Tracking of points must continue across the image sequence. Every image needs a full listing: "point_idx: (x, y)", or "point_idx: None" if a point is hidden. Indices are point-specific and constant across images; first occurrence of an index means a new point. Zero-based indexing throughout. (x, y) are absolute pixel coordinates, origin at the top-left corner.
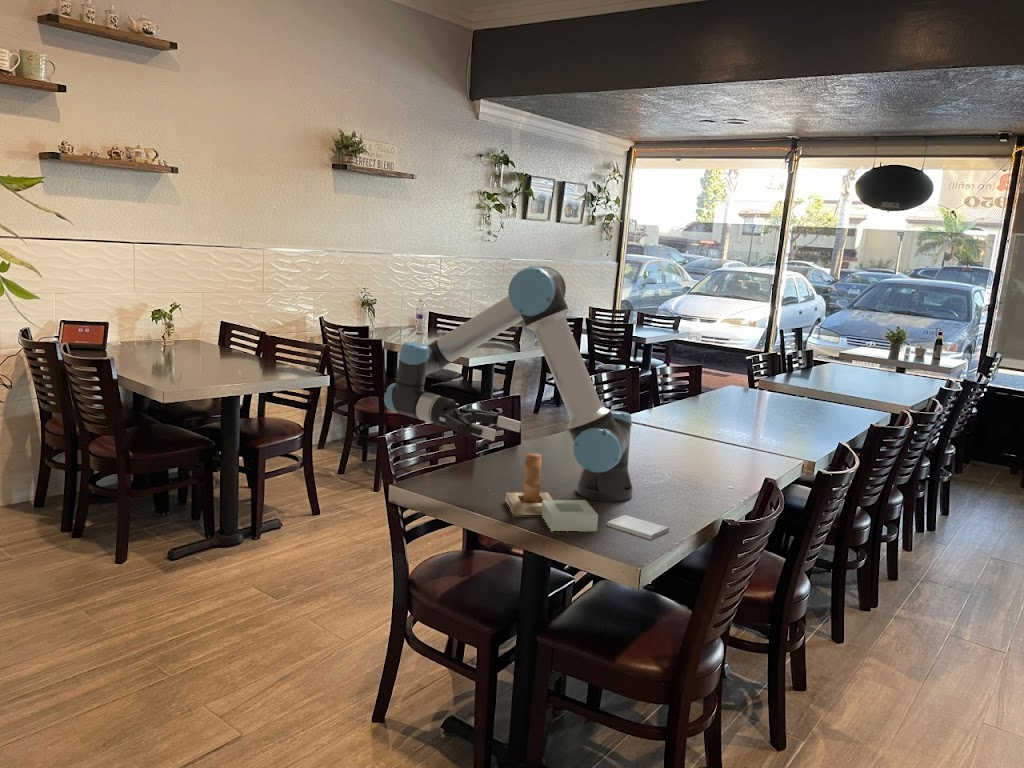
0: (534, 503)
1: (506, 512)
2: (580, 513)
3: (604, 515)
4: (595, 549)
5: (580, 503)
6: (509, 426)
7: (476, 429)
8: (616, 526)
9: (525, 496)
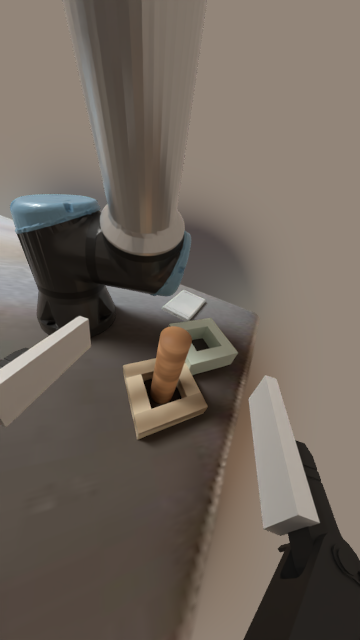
0: (181, 379)
1: (190, 427)
2: (215, 329)
3: (159, 321)
4: (246, 333)
5: (183, 328)
6: (62, 363)
7: (314, 470)
8: (192, 315)
9: (174, 389)
